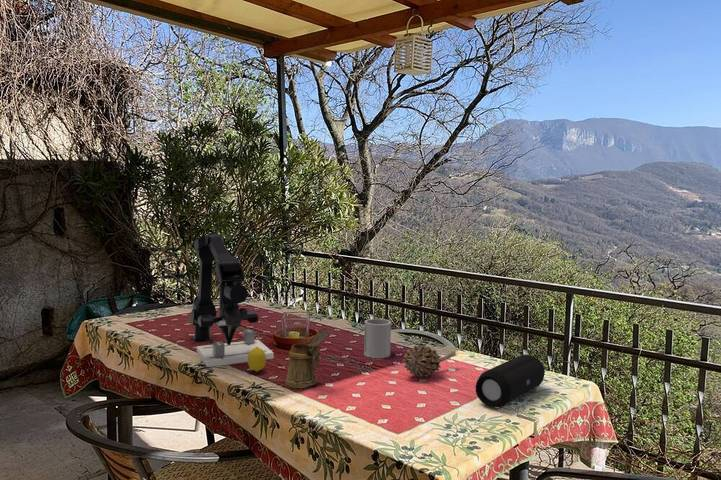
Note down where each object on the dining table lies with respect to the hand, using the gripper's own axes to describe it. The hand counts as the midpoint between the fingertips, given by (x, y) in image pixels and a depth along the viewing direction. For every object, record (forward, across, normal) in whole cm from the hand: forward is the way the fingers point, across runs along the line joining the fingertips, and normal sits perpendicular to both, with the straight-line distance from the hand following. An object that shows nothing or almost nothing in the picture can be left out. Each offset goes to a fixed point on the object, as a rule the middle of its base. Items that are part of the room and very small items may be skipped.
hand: (228, 344), depth 174 cm
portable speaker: (+6, +64, -63) cm, 90 cm away
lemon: (+6, +6, -14) cm, 16 cm away
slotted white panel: (+6, +4, +6) cm, 9 cm away
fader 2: (+3, +10, +12) cm, 16 cm away
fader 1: (+3, -3, 0) cm, 5 cm away
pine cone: (+6, +54, -38) cm, 67 cm away
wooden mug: (+6, +16, -31) cm, 35 cm away
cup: (+6, +48, -14) cm, 51 cm away
